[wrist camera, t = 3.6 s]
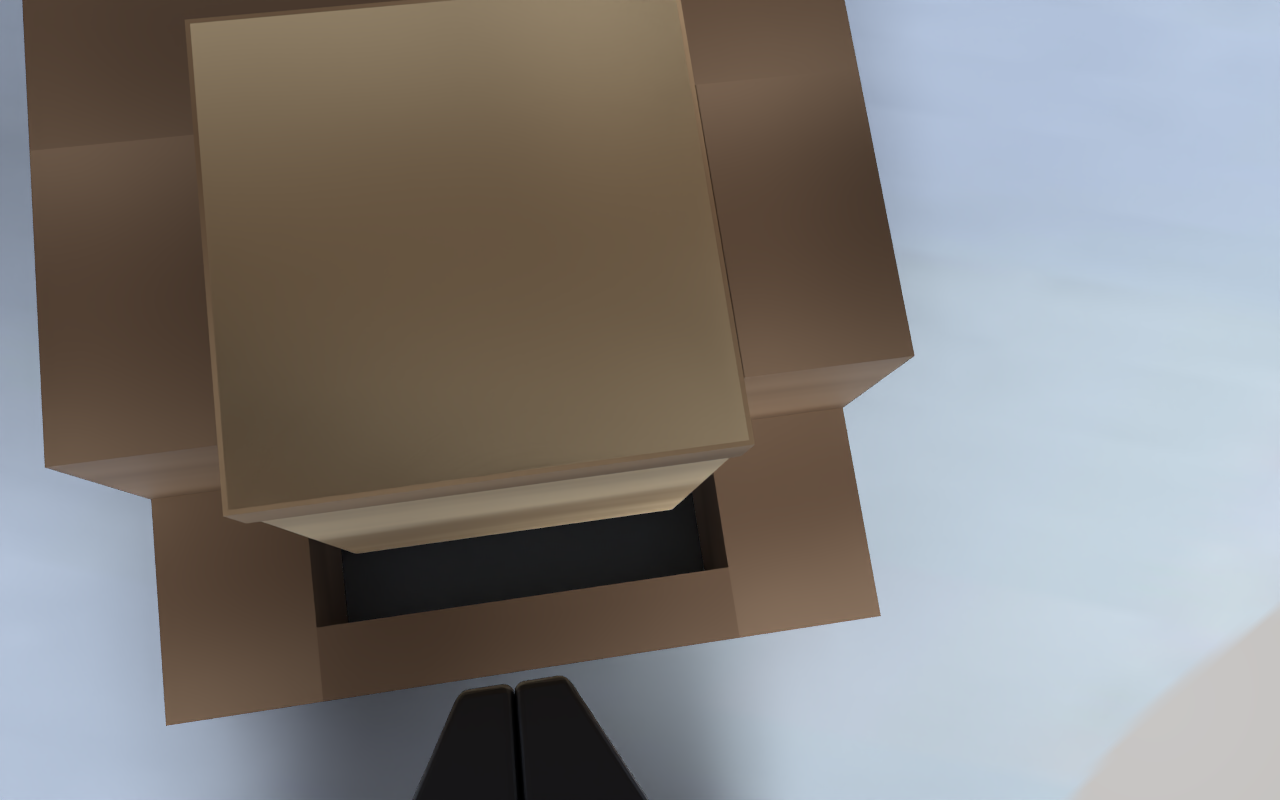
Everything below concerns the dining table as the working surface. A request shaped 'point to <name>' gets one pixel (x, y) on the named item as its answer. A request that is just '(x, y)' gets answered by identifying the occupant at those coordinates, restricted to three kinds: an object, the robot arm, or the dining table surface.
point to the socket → (313, 571)
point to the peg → (460, 267)
